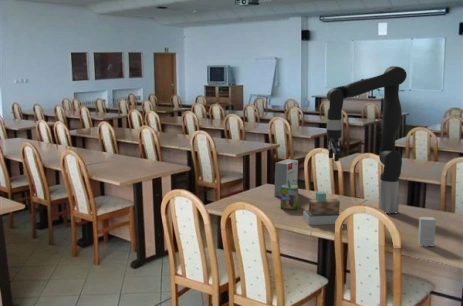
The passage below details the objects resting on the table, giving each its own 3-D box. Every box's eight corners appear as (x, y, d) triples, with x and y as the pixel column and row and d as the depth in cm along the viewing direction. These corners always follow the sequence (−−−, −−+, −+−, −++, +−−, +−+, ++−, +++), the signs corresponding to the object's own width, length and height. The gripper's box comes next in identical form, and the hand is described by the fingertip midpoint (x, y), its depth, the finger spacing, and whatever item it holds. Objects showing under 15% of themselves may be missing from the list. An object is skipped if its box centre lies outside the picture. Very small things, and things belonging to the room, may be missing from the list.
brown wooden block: (335, 210, 252) (336, 198, 251) (339, 213, 247) (339, 201, 246) (308, 211, 250) (309, 199, 249) (311, 214, 246) (311, 202, 245)
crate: (323, 199, 250) (323, 191, 249) (325, 201, 246) (326, 193, 245) (315, 199, 249) (315, 191, 249) (317, 201, 245) (318, 193, 245)
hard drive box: (285, 198, 291) (286, 164, 288) (273, 196, 295) (274, 162, 292) (297, 192, 304) (298, 160, 300) (286, 190, 308) (286, 158, 305)
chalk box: (297, 209, 268) (298, 182, 266) (280, 208, 270) (280, 181, 268) (298, 205, 277) (299, 178, 275) (281, 204, 279) (282, 178, 276)
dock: (333, 217, 255) (334, 208, 255) (340, 223, 246) (340, 214, 245) (303, 218, 254) (303, 209, 253) (308, 224, 244) (308, 215, 243)
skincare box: (431, 243, 219) (434, 217, 217) (434, 247, 215) (436, 220, 213) (417, 242, 220) (419, 216, 218) (419, 246, 216) (421, 219, 214)
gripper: (346, 129, 249) (345, 162, 252) (336, 126, 263) (335, 156, 266) (331, 130, 248) (331, 162, 251) (322, 126, 262) (322, 157, 265)
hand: (333, 159), depth 259 cm, fingers open, 8 cm apart
